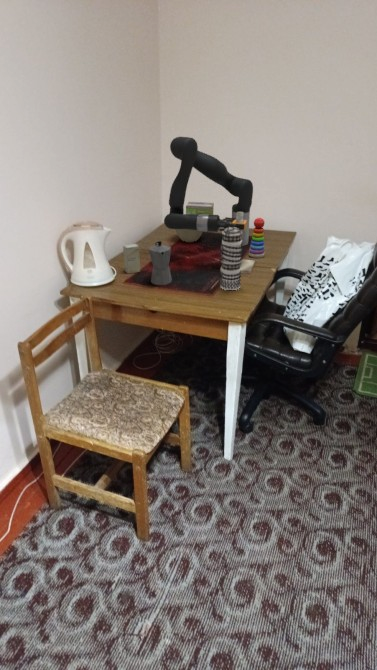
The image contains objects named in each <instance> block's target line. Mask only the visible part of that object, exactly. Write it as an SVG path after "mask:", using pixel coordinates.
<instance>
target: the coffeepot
mask: <svg viewBox="0 0 377 670" xmlns="http://www.w3.org/2000/svg"><path fill="white" fill-rule="evenodd" d="M148 251H149V256H150V261H151V264H152V268H151V269H152V270H151V279H150V282H151V283H152V284H153V285H155V286H166V285H169V284H171V283H172V281H173V277H172V275H171V268H170V265H169V263H170V259H171V251H172V247H171V246H169V245H167V244H162V241H161V240H158V241H156V242H155V245H152V246H150V247H149V249H148Z"/></svg>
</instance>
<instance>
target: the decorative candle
mask: <svg viewBox="0 0 377 670" xmlns="http://www.w3.org/2000/svg"><path fill="white" fill-rule="evenodd" d="M221 234H222V239H221V244H220V247H219V248H220V261H221V266H222V267H221V266H220V268H221V271H220V279H219V281H220V283H219V284H220V289H221V288H222V290H223V289H224V290H223V291H226V290H236V291H238V290H240V289H241V284H242V283H241V281H242V279H241V278H242V275H241V274H242V273H241V271H240V270H241V268H240V262H241V261H242V257H243V248H244V246H242V245H243V242H242V240H241V238H242V232H241V231H240V230H239V228H236V227H228V228H226V229H225V230H224V231H221ZM241 249H242V250H241ZM241 253H242V254H241ZM240 257H241V258H240ZM239 288H240V289H239ZM237 289H238V290H237Z"/></svg>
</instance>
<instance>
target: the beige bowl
mask: <svg viewBox="0 0 377 670" xmlns="http://www.w3.org/2000/svg"><path fill="white" fill-rule="evenodd" d="M183 214H184V213H183ZM184 215H187V214H186V213H185V214H184ZM174 231H175V234H176V235H177V237H178V238H179V239H180V240H181V241H182V242H184V241H185V243H194V241H195V242H197V241H198V240H199V239H200V237H201V236H202V234H203V232H204V231H200V230H189V229H174Z"/></svg>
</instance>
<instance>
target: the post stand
mask: <svg viewBox="0 0 377 670" xmlns="http://www.w3.org/2000/svg"><path fill="white" fill-rule="evenodd" d="M236 223H243V212H237V216H236ZM240 231H241V232H242V235H243V230H240ZM241 240H242V238H241ZM241 250H242V251H243V248H242V249H241ZM241 254H242V255H243V252H242V253H241ZM240 258H241V259H242V257H240ZM255 264H256V260H254V259H253V260H252V259H242V261H241V262H240V268H241V270H240V271H241V274H245V275H247V274H248V275H251V274H252V271H253V269H254V267H255ZM221 267H222V265H221V266H220V268H219V272H221Z"/></svg>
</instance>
